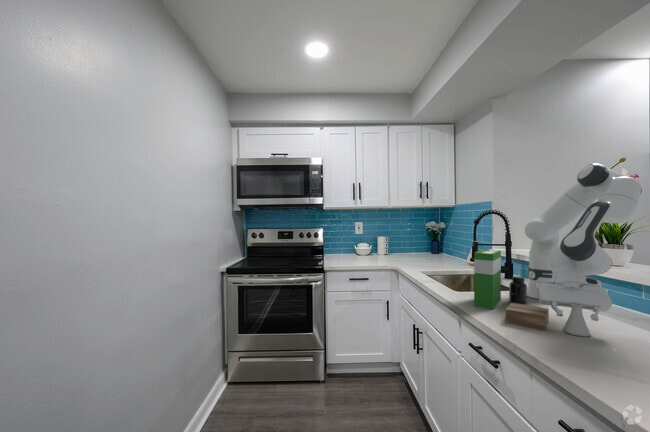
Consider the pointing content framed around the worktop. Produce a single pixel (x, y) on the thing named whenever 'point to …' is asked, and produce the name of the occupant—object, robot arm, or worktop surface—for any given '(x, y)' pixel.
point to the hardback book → (487, 279)
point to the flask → (576, 322)
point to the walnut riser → (527, 316)
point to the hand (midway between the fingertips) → (577, 317)
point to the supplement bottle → (518, 290)
